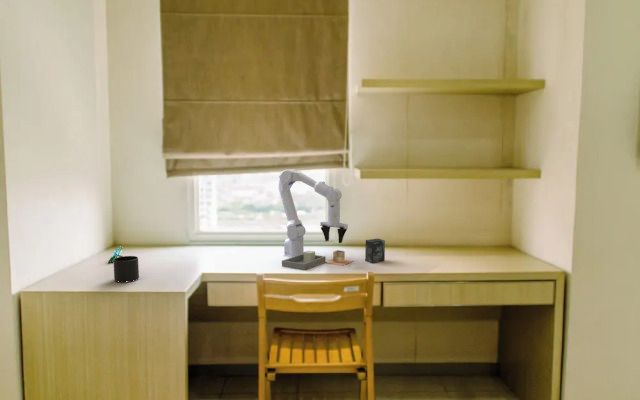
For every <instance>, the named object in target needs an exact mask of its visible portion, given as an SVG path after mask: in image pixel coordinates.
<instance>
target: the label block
mask: <svg viewBox="0 0 640 400" xmlns="http://www.w3.org/2000/svg"><path fill="white" fill-rule="evenodd" d="M345 253H346V252H345V250H340V249H339V250H338V249H337V250H334V251H333V252H332V259H333V262H336V263H342V262H345V260H346V257H345V256H346V255H345Z"/></svg>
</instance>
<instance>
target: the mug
mask: <svg viewBox="0 0 640 400" xmlns="http://www.w3.org/2000/svg"><path fill="white" fill-rule="evenodd" d="M122 256H123V255H122ZM112 262H113V277H114V278H113V279H114V282H115V281H119V282H126V281H133V280H136V279H138V278H140V271H139V257H138V256H134V255H125V256H123V257H117V258H114V260H113V261H112ZM138 280H139V279H138ZM136 281H137V280H136ZM119 282H118V283H119ZM133 282H134V281H133Z"/></svg>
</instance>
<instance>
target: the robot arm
mask: <svg viewBox="0 0 640 400" xmlns="http://www.w3.org/2000/svg"><path fill="white" fill-rule="evenodd" d="M278 177H279V180H278V181H279V182H278V191H279V195H280V199H281V202H282V205H283V208H284V212H285V216H286V219H287V224H286V236H287V238H285V240H284V242H283V243H284V244H283V245H284V246H283V248H284V250H283V252H284V253H283V256H282V257H288V258H291V257H294V256H297V255H300V254H303V253H304V252H305V251H304V249H305V247H304V239H305V238H304V236H305V234H306V232H307V231H306V227H305V226H304V225H303V223H302V221H301V220H300V219H299V216H298V213H297V209H296V206H295V203H294V199H293V196H292V192H291V188H292V186H293V184H295V183H296V182H301V183H303V184H305V185H307V186H310V187H311V188H313V190H314V193H317V194H319V195H321V196H322V197H324V198H326V201H327V203H328V204H327V221H320V222H319V223H320V224H319V225H320V230H321V232H322V233H323V236H324V239H325V242H329V240H330V230H331V228H336V229H337V230H336V231H337V234H338V244H341V243H343V240H344V236H345V234H346V232H347V230H348V227H349V224H347V223H342V222H341V219H340V218H341V199H342V197H343V195H342V191H341V190H340V189H339V188H334V186H330V185H328V184H326V182H325V181H321V180H320V181H316V180H314V179H313V178H311V177H310V176H308V175H307V174H305V173H303V172H302V171H300V170H297V169H295V168H291V169H283V170H281V172H280V174H279V175H278Z"/></svg>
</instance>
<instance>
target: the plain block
mask: <svg viewBox="0 0 640 400" xmlns="http://www.w3.org/2000/svg"><path fill="white" fill-rule="evenodd" d="M315 255H316V251H315V250H305V251H304V263H307V262H310V261H313V260H315Z"/></svg>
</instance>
